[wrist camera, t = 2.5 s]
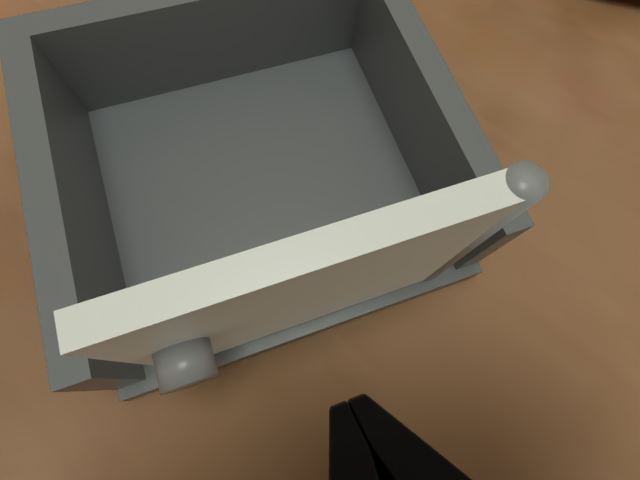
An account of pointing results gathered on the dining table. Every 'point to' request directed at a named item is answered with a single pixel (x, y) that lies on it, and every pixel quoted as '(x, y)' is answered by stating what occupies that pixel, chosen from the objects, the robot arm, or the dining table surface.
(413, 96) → the grey open box
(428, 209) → the side door
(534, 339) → the dining table surface
